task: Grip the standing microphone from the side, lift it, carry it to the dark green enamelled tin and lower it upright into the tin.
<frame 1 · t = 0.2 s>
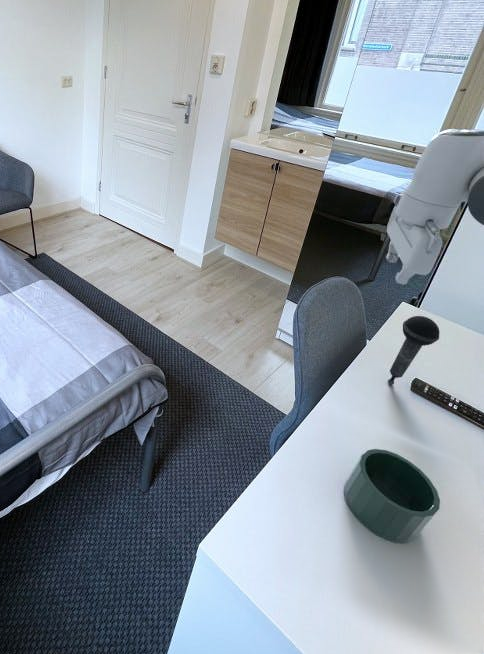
hand: (394, 271, 89), 31 cm above the table, tool pointing down, fingers open, 8 cm apart
tin: (379, 507, 75), on the table
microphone: (389, 384, 103), on the table
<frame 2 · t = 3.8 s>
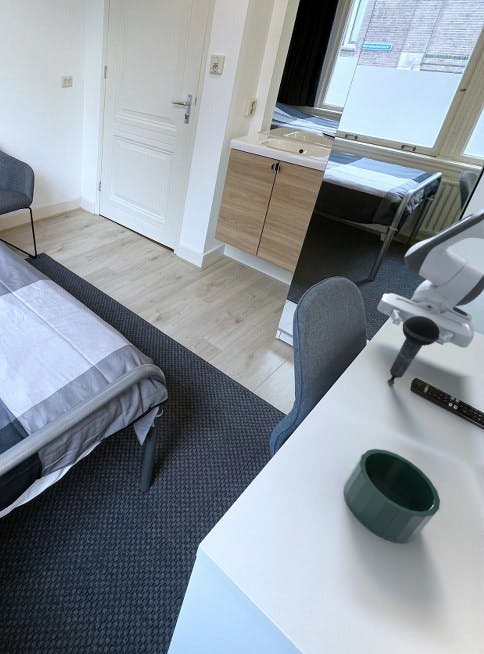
hand: (417, 331, 105), 10 cm above the table, tool horizontal, fingers open, 8 cm apart
nothing on the table moved.
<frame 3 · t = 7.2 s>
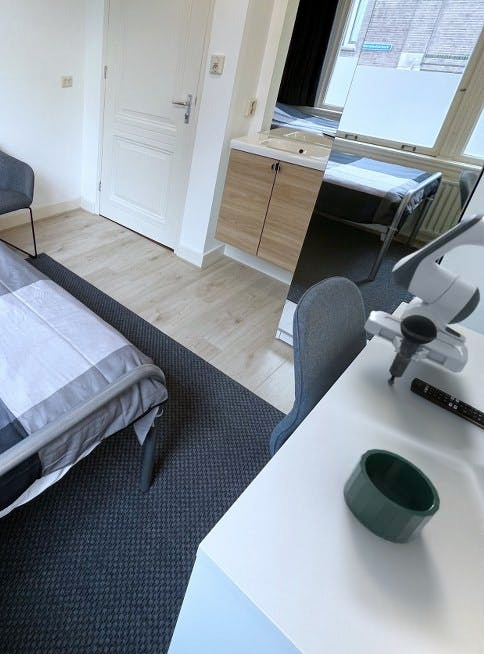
hand: (406, 354, 97), 10 cm above the table, tool horizontal, fingers closed on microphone
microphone: (389, 384, 103), on the table, touching gripper
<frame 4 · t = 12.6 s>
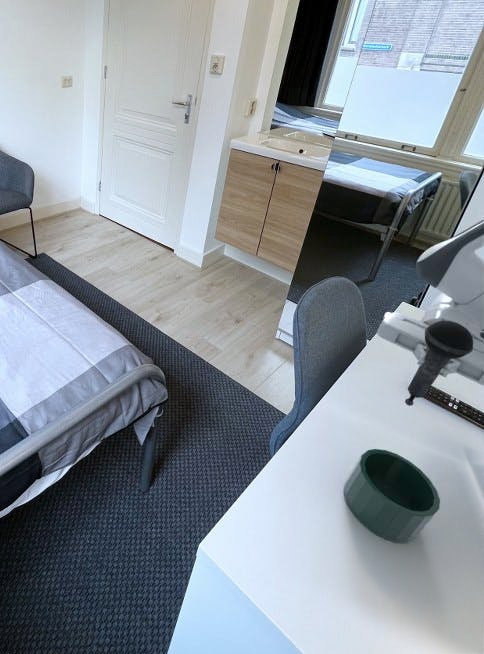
hand: (432, 368, 76), 22 cm above the table, tool horizontal, fingers closed on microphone
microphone: (407, 405, 82), point 11 cm above the table, touching gripper
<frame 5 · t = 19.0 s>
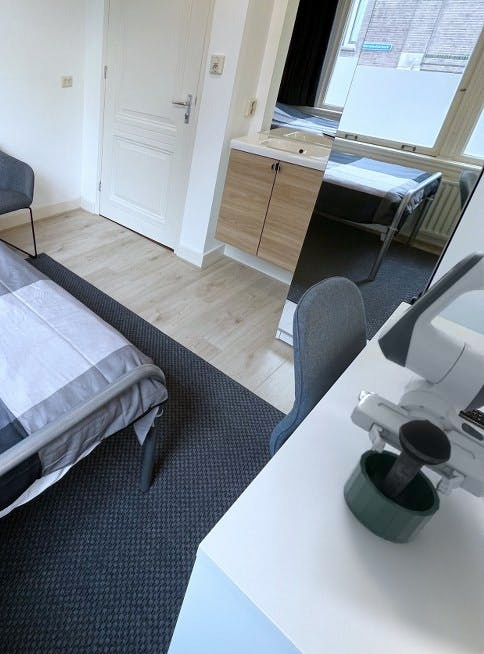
hand: (408, 469, 69), 12 cm above the table, tool horizontal, fingers open, 8 cm apart
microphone: (379, 502, 75), point 1 cm above the table, touching tin
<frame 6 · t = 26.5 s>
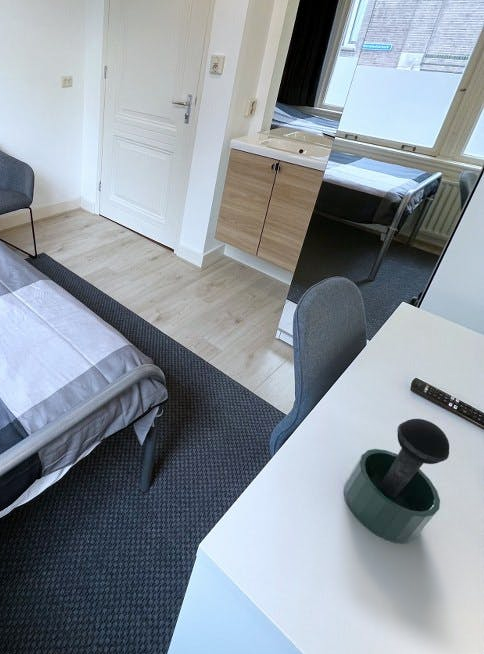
nothing on the table moved.
at the end: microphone inside the target area in the tin (0.4 cm from its centre), point 0.8 cm above the tin's base; the gripper is holding nothing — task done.
